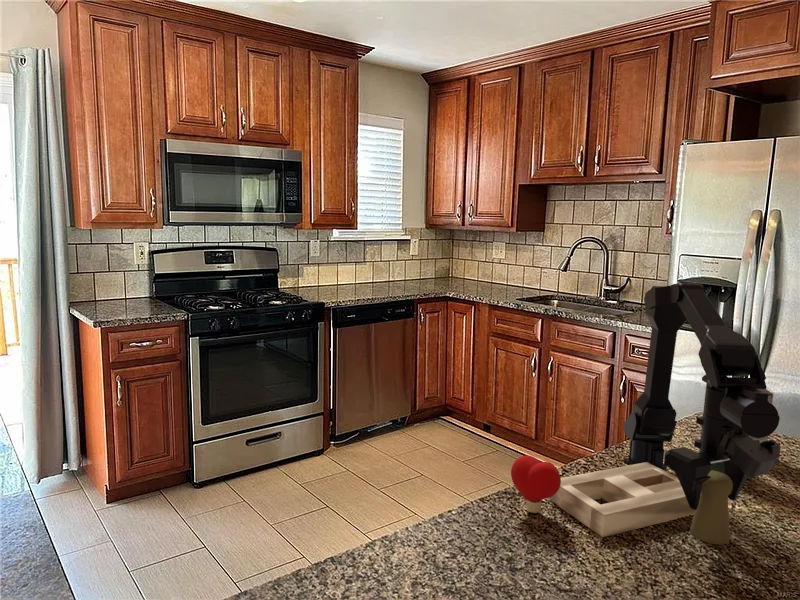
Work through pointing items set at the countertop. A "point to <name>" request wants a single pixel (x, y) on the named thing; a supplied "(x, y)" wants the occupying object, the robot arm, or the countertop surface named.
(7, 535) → the countertop surface
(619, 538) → the countertop surface
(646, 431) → the robot arm
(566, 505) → the socket board
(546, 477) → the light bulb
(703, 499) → the cork
